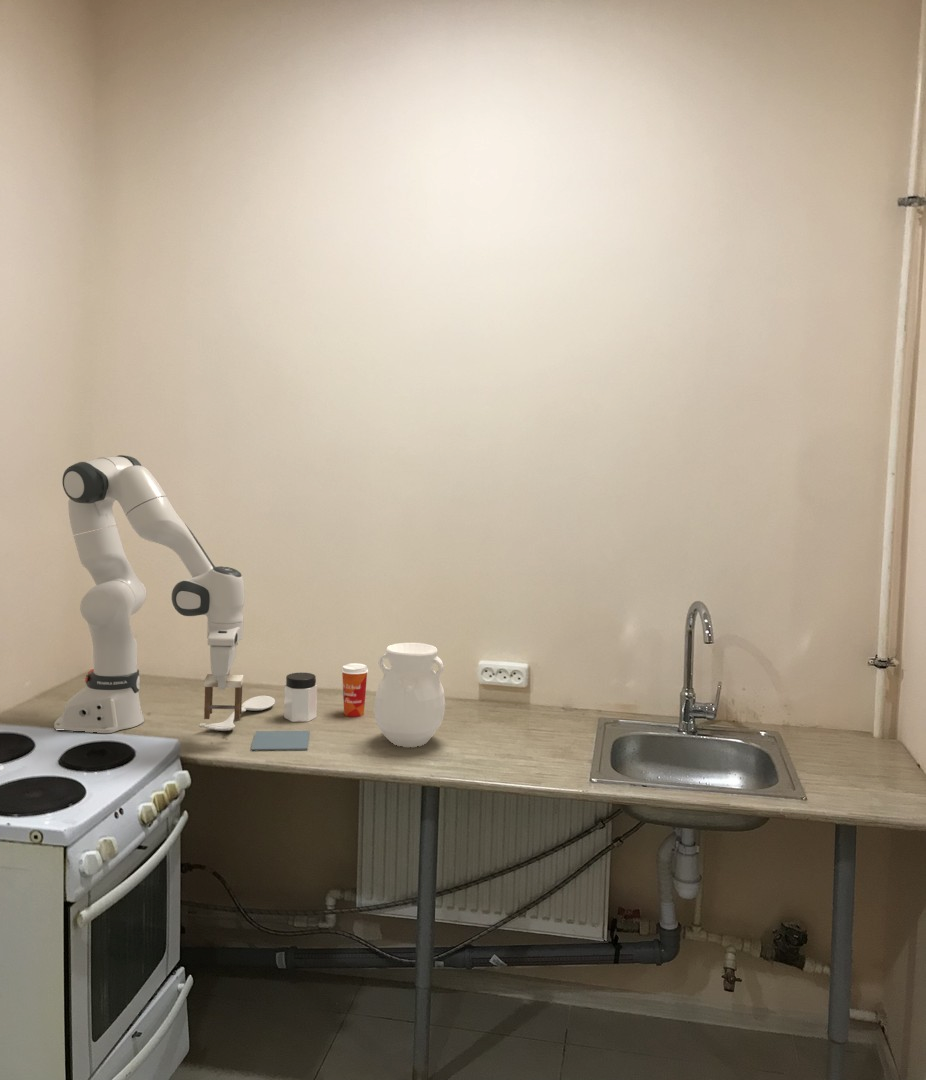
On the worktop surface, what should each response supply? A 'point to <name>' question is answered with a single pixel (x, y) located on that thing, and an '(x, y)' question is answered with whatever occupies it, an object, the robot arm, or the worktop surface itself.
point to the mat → (280, 740)
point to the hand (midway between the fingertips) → (223, 684)
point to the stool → (230, 682)
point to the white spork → (250, 704)
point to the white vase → (410, 694)
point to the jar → (300, 697)
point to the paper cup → (354, 689)
